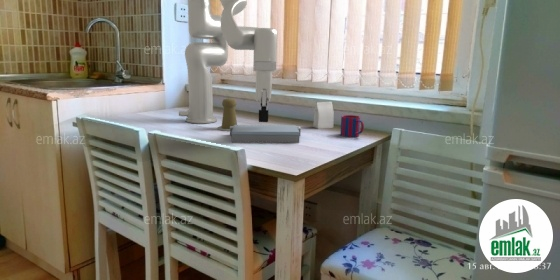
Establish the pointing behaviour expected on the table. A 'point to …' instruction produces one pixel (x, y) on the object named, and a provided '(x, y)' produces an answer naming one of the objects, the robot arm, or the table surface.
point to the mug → (351, 126)
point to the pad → (222, 129)
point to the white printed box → (323, 115)
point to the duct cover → (265, 130)
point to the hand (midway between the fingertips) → (263, 121)
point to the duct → (266, 138)
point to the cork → (229, 113)
